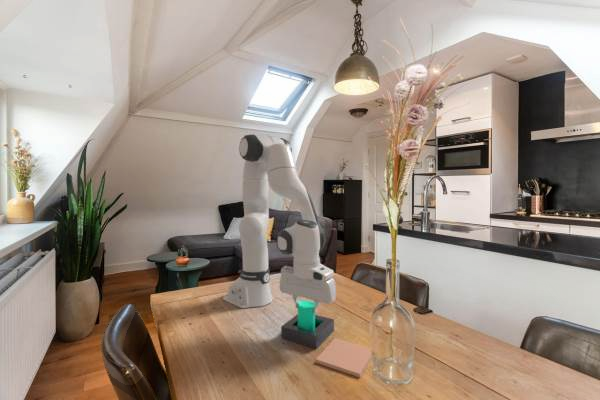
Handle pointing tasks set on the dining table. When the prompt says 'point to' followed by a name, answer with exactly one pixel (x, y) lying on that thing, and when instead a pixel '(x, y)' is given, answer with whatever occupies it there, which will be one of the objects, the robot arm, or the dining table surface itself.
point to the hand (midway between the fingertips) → (306, 310)
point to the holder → (308, 331)
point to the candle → (306, 315)
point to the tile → (345, 357)
